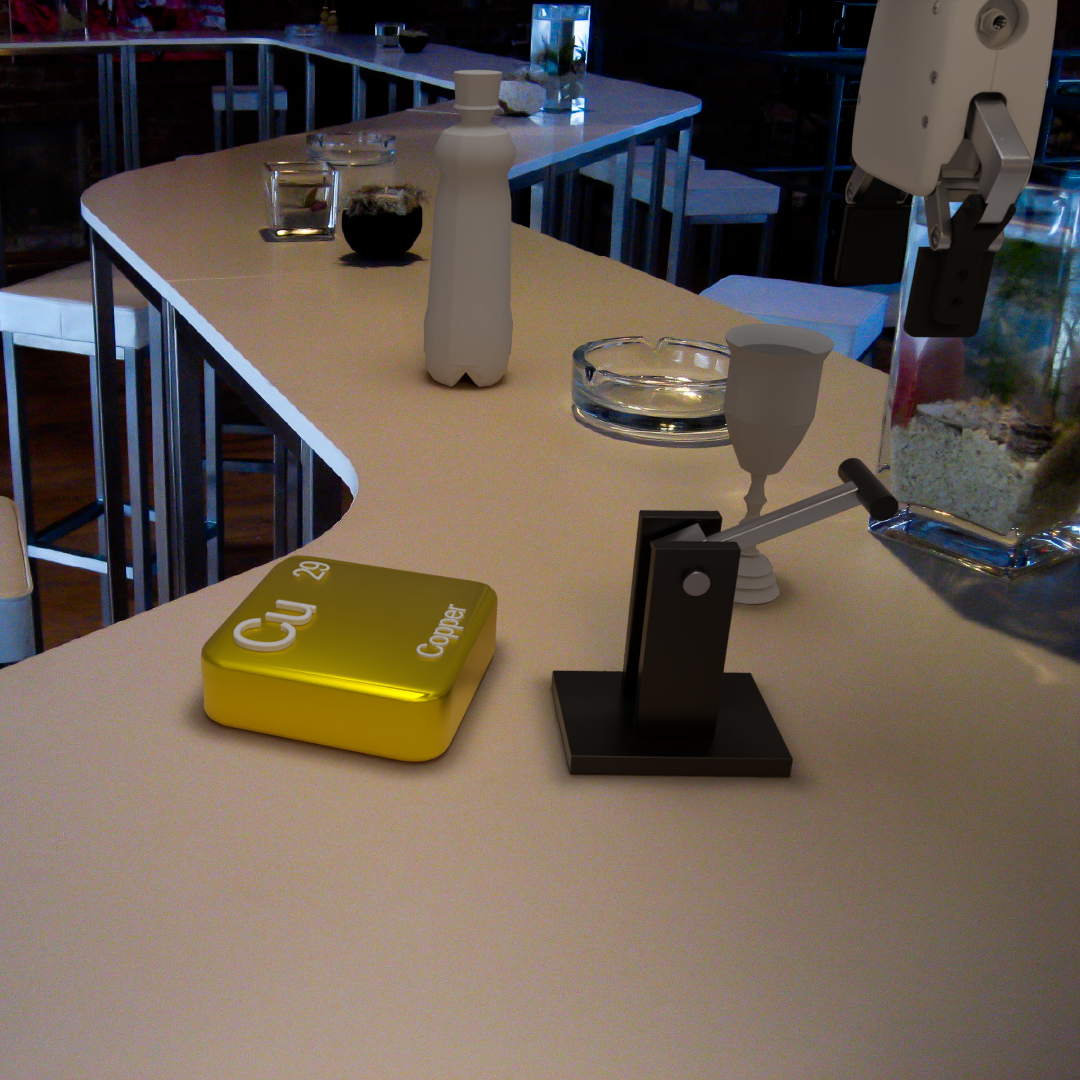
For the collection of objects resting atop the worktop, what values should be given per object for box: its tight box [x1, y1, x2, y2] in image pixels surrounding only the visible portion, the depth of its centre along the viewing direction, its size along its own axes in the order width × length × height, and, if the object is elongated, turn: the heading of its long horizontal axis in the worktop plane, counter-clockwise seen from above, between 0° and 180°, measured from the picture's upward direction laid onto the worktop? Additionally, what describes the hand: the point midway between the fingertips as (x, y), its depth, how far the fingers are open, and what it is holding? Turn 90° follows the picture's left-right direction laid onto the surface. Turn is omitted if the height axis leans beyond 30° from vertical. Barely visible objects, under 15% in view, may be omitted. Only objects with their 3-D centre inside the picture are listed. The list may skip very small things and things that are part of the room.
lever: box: [650, 457, 900, 551], centre depth 67 cm, size 12×5×2 cm, turn 87°
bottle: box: [423, 69, 517, 388], centre depth 125 cm, size 9×9×30 cm
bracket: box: [551, 509, 794, 778], centre depth 70 cm, size 12×9×13 cm
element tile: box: [200, 554, 498, 763], centre depth 77 cm, size 15×15×5 cm
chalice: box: [723, 323, 835, 605], centre depth 85 cm, size 7×7×18 cm
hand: (899, 307), depth 62 cm, fingers open, 9 cm apart
